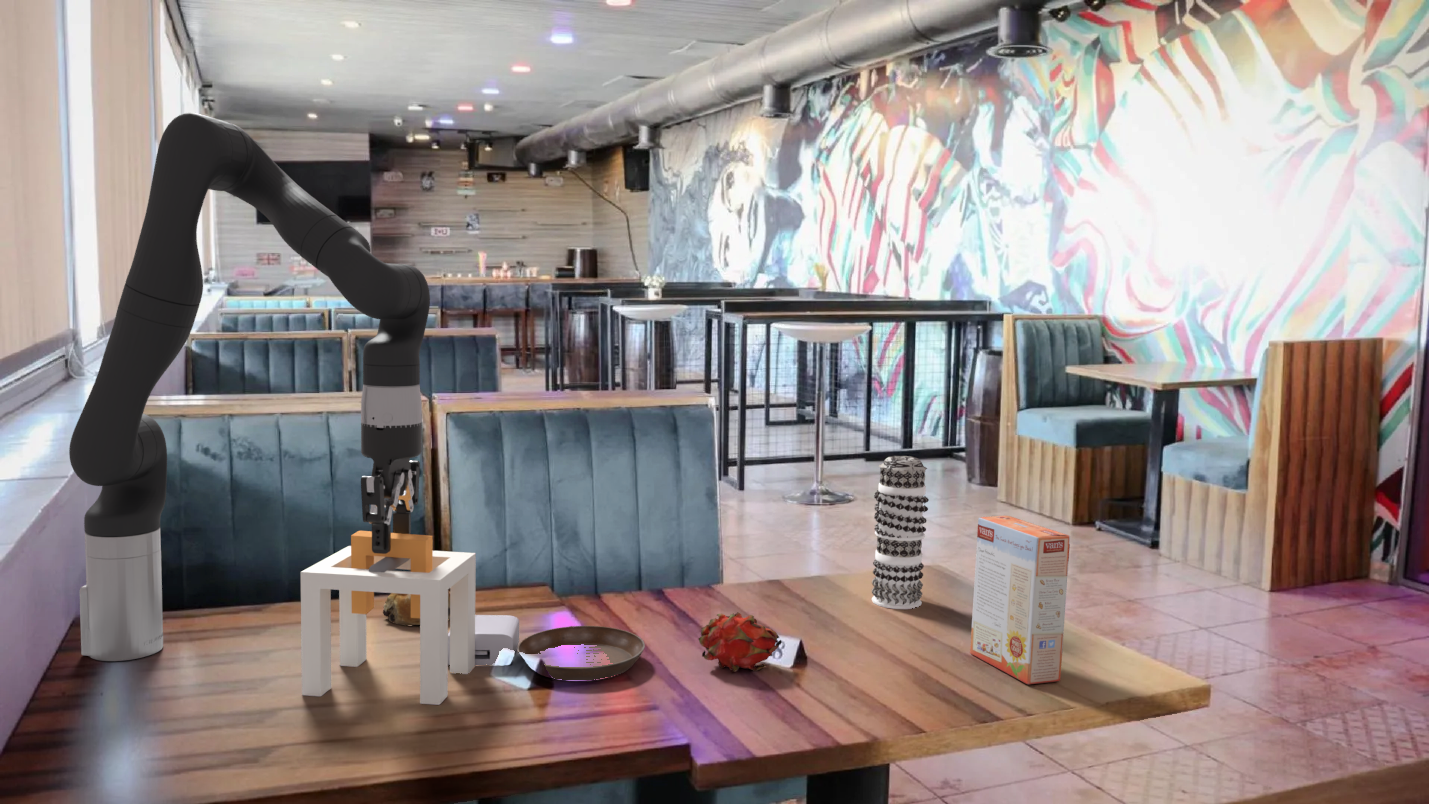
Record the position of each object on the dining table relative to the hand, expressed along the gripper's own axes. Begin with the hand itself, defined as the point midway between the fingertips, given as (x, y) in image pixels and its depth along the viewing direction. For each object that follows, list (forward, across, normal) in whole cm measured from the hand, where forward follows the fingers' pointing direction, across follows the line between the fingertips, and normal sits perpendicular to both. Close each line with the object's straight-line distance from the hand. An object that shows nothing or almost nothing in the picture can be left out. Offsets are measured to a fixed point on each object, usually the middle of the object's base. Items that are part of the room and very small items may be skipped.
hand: (391, 546), depth 145 cm
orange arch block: (+9, 0, 0) cm, 9 cm away
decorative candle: (+18, -51, +69) cm, 88 cm away
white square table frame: (+18, 0, 0) cm, 18 cm away
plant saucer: (+19, -11, +23) cm, 32 cm away
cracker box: (+18, -21, +84) cm, 89 cm away
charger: (+19, -15, +8) cm, 25 cm away
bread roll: (+19, -27, -7) cm, 33 cm away
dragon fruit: (+18, -14, +45) cm, 51 cm away
